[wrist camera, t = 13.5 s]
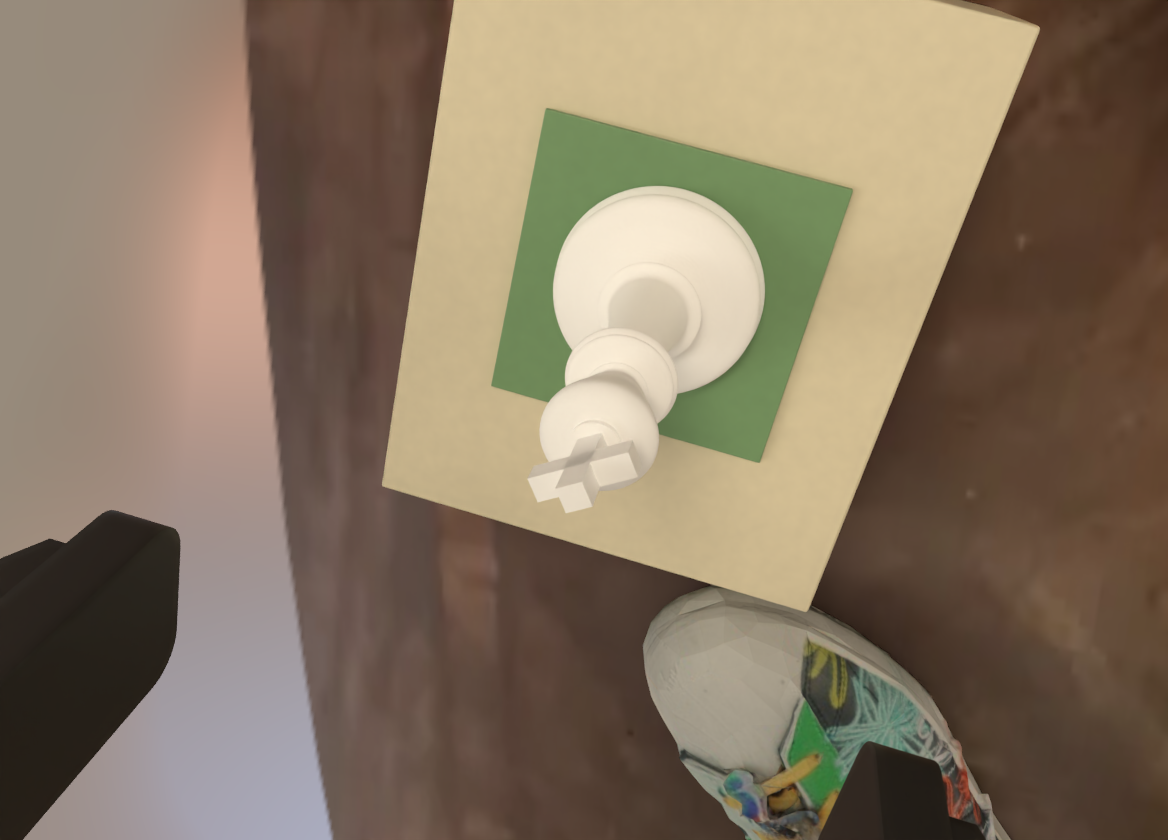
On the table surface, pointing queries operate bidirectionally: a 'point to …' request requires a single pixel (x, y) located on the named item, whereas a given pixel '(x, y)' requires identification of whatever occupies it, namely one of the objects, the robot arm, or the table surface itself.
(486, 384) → the box with green top
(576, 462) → the chess piece
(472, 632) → the table surface
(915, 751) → the sneaker
